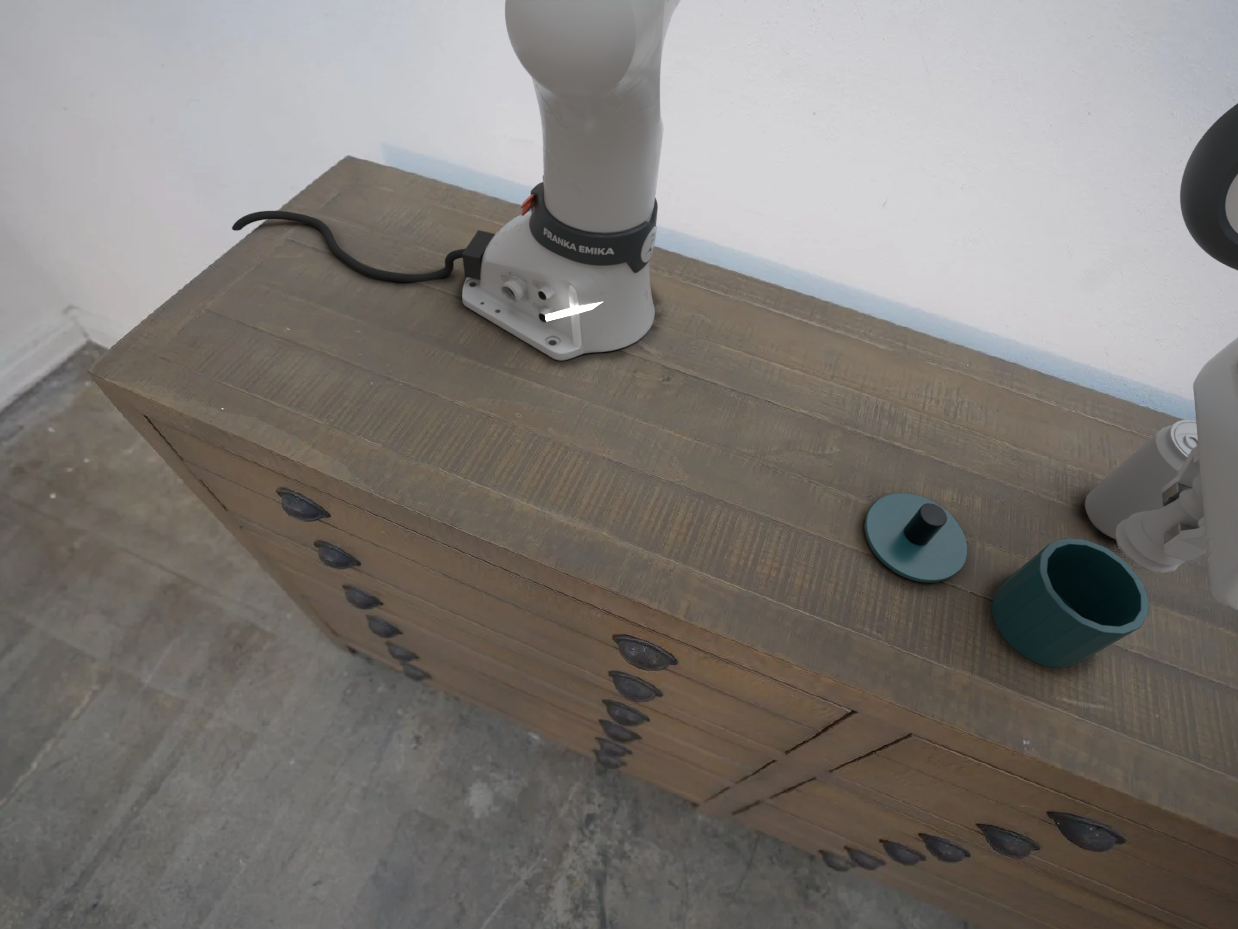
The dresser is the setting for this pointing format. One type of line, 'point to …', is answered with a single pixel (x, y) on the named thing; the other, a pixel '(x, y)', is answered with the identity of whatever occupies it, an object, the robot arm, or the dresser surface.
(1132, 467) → the beverage can
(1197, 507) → the rook chess piece
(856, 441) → the dresser surface
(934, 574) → the pot lid
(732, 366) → the dresser surface
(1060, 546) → the pot
